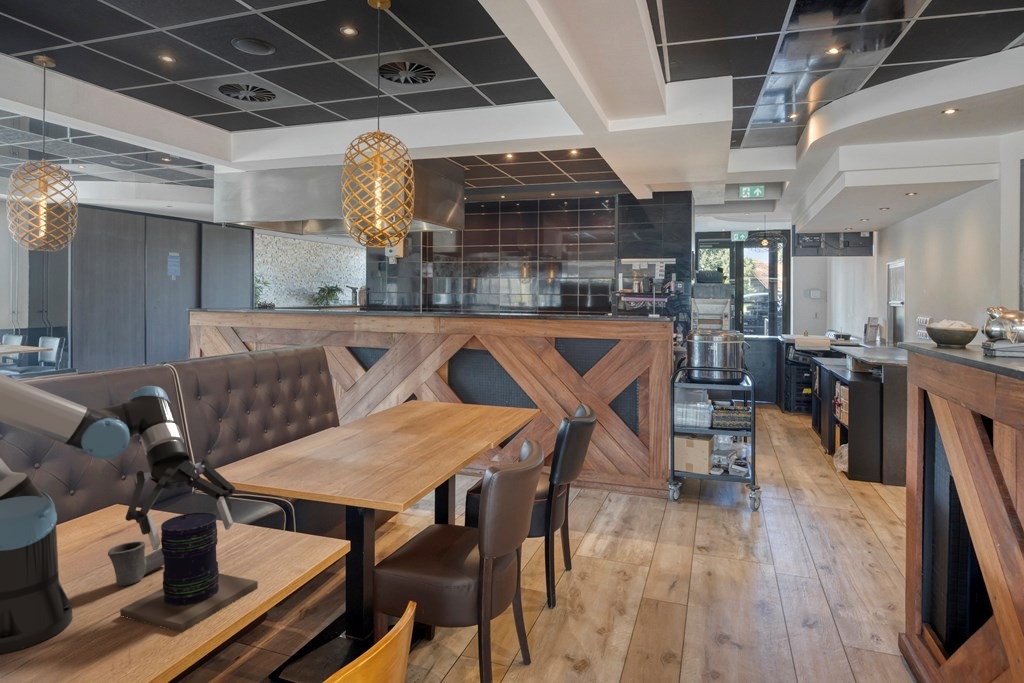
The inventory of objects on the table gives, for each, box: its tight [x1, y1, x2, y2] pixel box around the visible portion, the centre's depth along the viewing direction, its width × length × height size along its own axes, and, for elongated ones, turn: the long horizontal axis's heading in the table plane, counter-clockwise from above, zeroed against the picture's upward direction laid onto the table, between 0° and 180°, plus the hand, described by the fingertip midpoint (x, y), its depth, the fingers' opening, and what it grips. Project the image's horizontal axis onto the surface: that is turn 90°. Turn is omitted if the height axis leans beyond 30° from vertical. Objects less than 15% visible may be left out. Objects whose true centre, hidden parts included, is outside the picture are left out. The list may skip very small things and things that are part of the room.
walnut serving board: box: [119, 573, 259, 633], centre depth 117 cm, size 18×16×2 cm
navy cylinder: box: [160, 512, 220, 606], centre depth 117 cm, size 10×10×15 cm
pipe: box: [107, 540, 164, 587], centre depth 128 cm, size 6×13×8 cm, turn 162°
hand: (194, 536), depth 117 cm, fingers open, 13 cm apart
